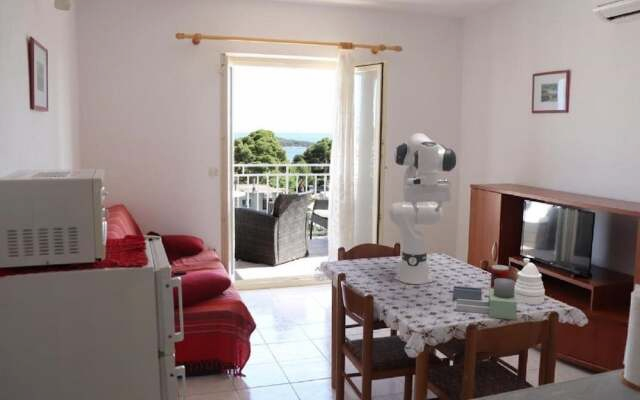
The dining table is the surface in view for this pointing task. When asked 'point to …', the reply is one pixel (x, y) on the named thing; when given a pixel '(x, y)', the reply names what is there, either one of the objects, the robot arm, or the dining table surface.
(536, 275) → the honey pot
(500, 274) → the canned food
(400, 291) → the dining table surface
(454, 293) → the chute
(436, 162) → the robot arm
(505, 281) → the green base with cylinder
